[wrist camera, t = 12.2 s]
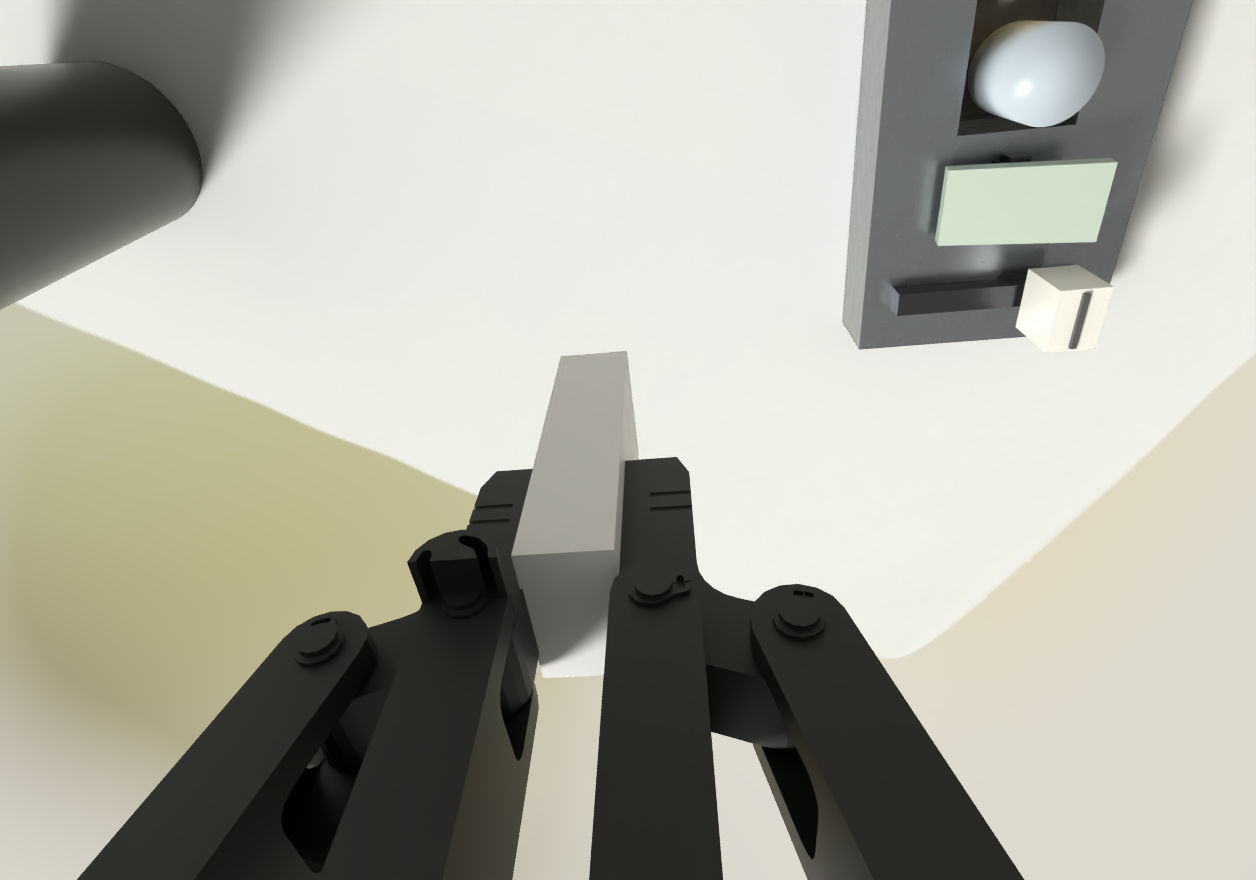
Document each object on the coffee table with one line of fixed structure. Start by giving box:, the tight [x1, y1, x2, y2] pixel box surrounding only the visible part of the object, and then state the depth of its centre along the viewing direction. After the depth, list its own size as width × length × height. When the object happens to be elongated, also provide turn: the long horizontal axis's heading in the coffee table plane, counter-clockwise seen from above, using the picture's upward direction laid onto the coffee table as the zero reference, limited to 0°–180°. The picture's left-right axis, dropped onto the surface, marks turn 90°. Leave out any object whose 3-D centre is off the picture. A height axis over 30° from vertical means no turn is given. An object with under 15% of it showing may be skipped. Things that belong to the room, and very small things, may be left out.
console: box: [843, 0, 1193, 349], centre depth 34 cm, size 22×13×5 cm, turn 6°
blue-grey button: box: [968, 20, 1105, 127], centre depth 31 cm, size 4×4×4 cm
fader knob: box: [1016, 265, 1114, 353], centre depth 34 cm, size 3×2×3 cm
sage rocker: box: [935, 158, 1118, 246], centre depth 33 cm, size 4×7×1 cm, turn 96°
